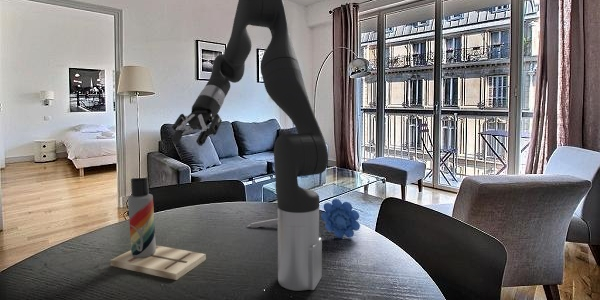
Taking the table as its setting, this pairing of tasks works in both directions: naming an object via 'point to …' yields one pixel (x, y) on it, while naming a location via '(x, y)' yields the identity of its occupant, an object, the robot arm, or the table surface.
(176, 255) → the oak board
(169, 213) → the table surface
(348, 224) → the blue flower
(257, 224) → the caliper
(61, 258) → the table surface
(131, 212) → the lotion bottle
